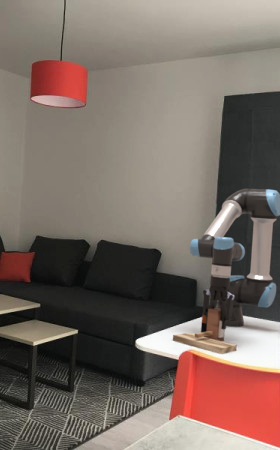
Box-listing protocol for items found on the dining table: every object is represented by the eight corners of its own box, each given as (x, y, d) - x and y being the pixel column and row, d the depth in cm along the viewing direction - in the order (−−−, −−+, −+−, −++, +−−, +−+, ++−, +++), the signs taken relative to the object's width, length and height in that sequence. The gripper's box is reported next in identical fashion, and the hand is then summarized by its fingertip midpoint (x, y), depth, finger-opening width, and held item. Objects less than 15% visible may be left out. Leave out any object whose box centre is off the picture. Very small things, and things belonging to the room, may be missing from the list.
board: (187, 337, 203) (188, 332, 203) (236, 350, 189) (236, 344, 189) (172, 340, 196) (173, 334, 196) (221, 353, 181) (222, 348, 181)
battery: (216, 339, 206) (218, 314, 206) (200, 336, 208) (202, 312, 208) (218, 337, 210) (221, 313, 210) (202, 334, 212) (205, 310, 212)
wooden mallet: (213, 338, 204) (216, 308, 204) (223, 340, 201) (226, 310, 201) (190, 342, 191) (193, 310, 191) (200, 345, 188) (203, 312, 188)
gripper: (196, 273, 203) (191, 332, 203) (235, 279, 191) (229, 341, 191) (207, 273, 208) (201, 330, 208) (245, 279, 197) (239, 339, 197)
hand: (215, 335), depth 200 cm, fingers closed on wooden mallet, 4 cm apart
